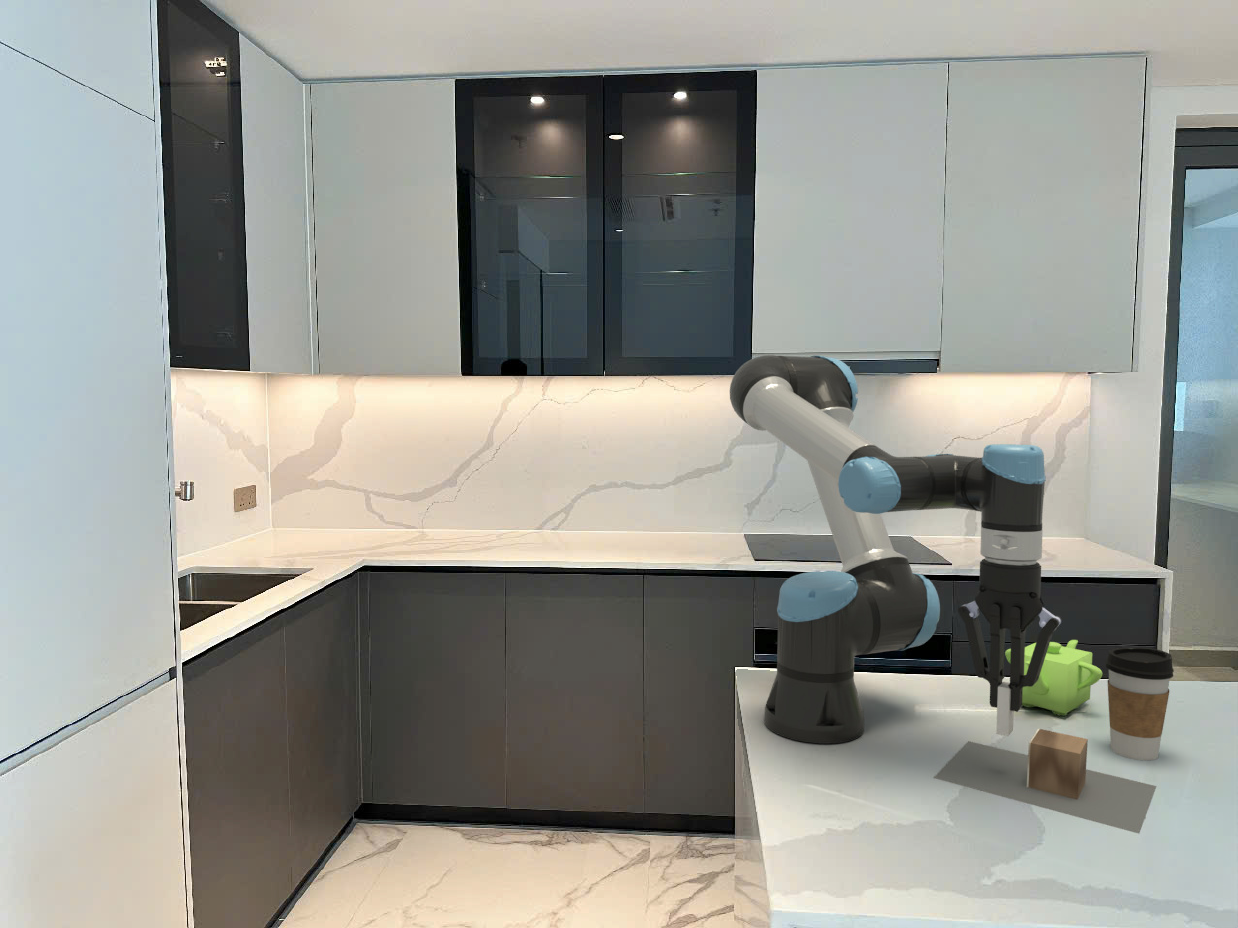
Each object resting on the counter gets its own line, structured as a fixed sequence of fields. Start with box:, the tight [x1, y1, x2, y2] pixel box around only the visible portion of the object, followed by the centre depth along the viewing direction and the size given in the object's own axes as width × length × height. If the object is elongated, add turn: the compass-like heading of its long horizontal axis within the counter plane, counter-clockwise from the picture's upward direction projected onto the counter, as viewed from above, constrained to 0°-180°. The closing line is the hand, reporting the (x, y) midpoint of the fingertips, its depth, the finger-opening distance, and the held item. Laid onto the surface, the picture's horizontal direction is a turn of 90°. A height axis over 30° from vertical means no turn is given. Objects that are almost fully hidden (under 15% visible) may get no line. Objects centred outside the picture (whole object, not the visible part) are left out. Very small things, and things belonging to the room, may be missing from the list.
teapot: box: [1004, 639, 1103, 716], centre depth 147 cm, size 15×13×11 cm
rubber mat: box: [933, 740, 1157, 835], centre depth 117 cm, size 24×16×1 cm, turn 53°
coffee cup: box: [1105, 647, 1175, 761], centre depth 127 cm, size 8×8×15 cm
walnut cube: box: [1027, 728, 1089, 800], centre depth 116 cm, size 6×6×6 cm
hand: (1004, 731), depth 120 cm, fingers closed
